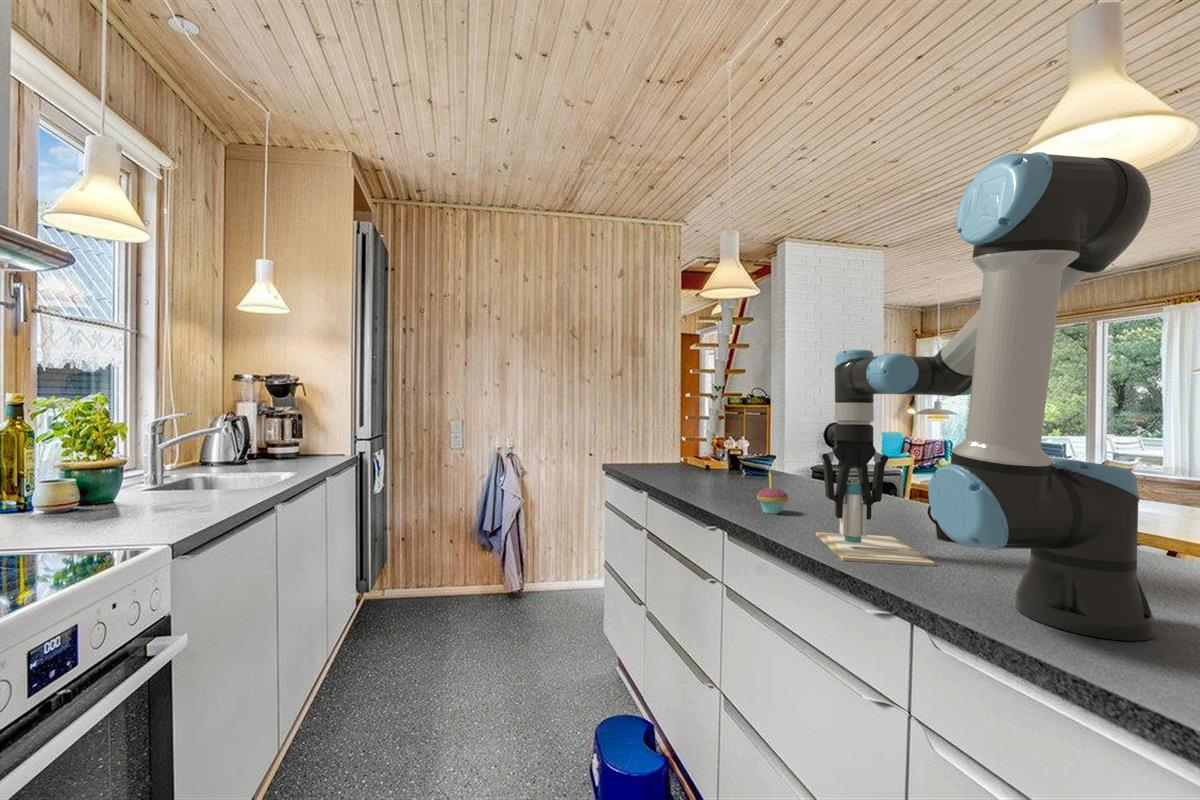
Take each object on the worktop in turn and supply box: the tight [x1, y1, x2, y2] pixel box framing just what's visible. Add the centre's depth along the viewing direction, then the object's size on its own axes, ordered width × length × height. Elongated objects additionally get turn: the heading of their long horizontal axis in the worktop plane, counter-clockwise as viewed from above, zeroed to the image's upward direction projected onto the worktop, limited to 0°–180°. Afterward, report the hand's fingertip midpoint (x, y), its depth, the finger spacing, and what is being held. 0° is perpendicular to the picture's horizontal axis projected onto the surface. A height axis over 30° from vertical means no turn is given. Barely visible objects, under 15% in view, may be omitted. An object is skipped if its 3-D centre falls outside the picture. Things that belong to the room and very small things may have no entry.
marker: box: [844, 482, 862, 543], centre depth 115 cm, size 3×3×12 cm
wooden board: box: [815, 531, 936, 567], centre depth 118 cm, size 22×17×1 cm
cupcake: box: [756, 471, 789, 515], centre depth 156 cm, size 9×8×12 cm
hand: (852, 534), depth 115 cm, fingers closed on marker, 3 cm apart
